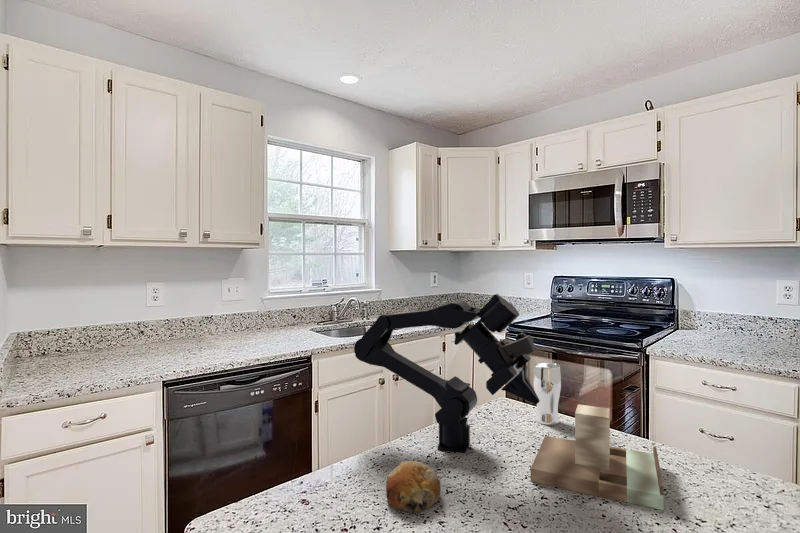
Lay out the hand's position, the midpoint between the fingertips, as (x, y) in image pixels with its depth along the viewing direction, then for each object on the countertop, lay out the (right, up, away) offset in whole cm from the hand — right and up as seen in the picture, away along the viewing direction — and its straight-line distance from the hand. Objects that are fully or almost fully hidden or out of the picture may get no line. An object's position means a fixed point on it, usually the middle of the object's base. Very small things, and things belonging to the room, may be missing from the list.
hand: (538, 402), depth 92 cm
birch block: (+9, -10, -5) cm, 15 cm away
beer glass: (+10, -13, +24) cm, 29 cm away
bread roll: (-27, -13, -14) cm, 33 cm away
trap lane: (+10, -13, -5) cm, 17 cm away
